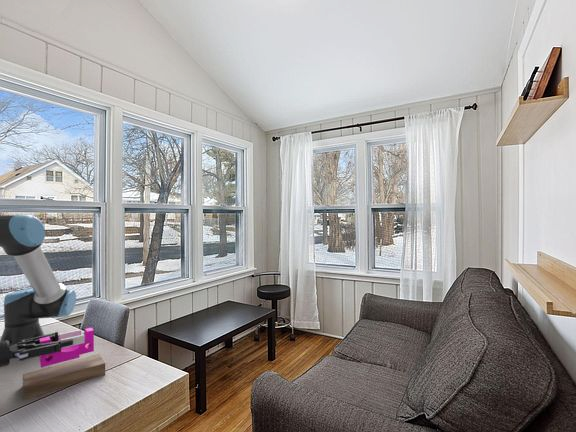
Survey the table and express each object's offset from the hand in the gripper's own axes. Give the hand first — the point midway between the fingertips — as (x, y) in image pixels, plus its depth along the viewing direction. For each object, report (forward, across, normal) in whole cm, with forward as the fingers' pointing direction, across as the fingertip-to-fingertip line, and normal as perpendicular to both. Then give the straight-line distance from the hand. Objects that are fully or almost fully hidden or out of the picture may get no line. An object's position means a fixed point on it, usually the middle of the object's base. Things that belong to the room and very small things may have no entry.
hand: (82, 336), depth 110 cm
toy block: (-4, 0, -6) cm, 8 cm away
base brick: (-5, 0, -14) cm, 15 cm away
